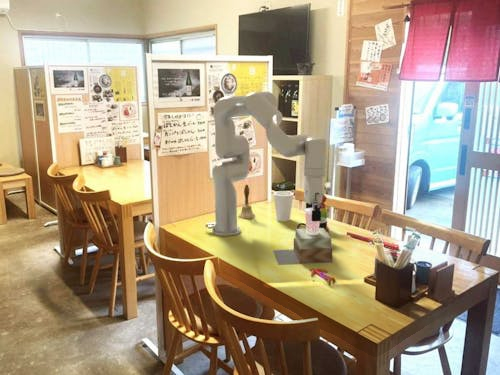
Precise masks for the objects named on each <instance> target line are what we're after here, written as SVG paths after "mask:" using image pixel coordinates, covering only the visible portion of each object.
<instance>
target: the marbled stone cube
mask: <svg viewBox="0 0 500 375" xmlns="http://www.w3.org/2000/svg"><path fill="white" fill-rule="evenodd" d="M294 233H295V237H294V238H293V249H294V252H295V254H296V256H297V258H298V260H299V262H300V263H304V262H329V261H332V262H333V247H332V237H331V236H330V234H329V232H326V230H325V229H324V228H319V233H318V234H317V235H309V234H306V228H299V229H297V228H296V229H295V232H294Z"/></svg>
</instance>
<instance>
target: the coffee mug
mask: <svg viewBox="0 0 500 375" xmlns="http://www.w3.org/2000/svg"><path fill="white" fill-rule="evenodd" d="M301 225H303V226H305V227H306V223H305V222H304V223H303V222H302V223H299V224H297V227H296V229H300V226H301ZM326 225H327V226H328V219H325V218H322V217H321V221H320V223H319V228H324V229H325V230H326Z"/></svg>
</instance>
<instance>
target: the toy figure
mask: <svg viewBox="0 0 500 375" xmlns="http://www.w3.org/2000/svg"><path fill="white" fill-rule="evenodd" d="M308 270H309V271H310V272H311V274H310V277H311V278H313V277H314V275H317V276H318V277H320V278H322V279H324V280H328V281H327V283H328V285H329V286H331V284H332V283H333V284H332V285H335V283H336V278H335V277H333V276H330V275H327V274H328V273H330V272H329V271H328V270H326V269H324V268H317V269H315V268H314V267H310V268H309V269H308ZM323 272H325V273H327V274H325V273H323ZM312 282H313V283H314V282H315V280H312Z"/></svg>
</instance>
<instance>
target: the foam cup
mask: <svg viewBox="0 0 500 375" xmlns="http://www.w3.org/2000/svg"><path fill="white" fill-rule="evenodd" d="M273 199H274V210H275V216H276V218H275V219H276V221H278V222H283V223H285V222H289V221H290V219H291V214H292V207H293V201H294V192H291V191H288V190H287V191H286V190H278V191H275V192H273Z"/></svg>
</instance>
